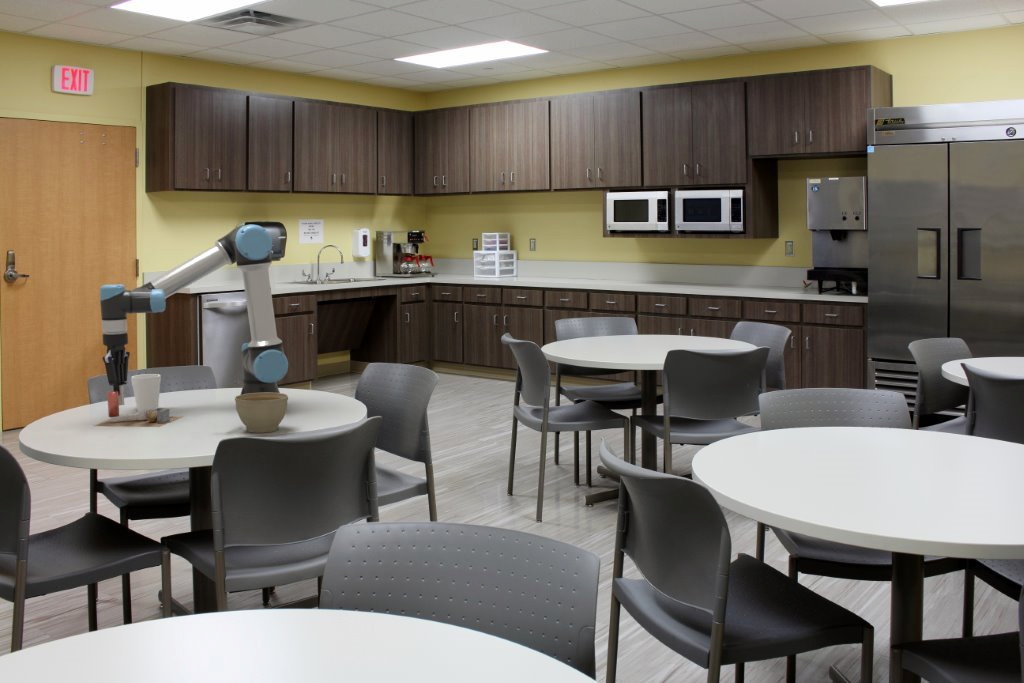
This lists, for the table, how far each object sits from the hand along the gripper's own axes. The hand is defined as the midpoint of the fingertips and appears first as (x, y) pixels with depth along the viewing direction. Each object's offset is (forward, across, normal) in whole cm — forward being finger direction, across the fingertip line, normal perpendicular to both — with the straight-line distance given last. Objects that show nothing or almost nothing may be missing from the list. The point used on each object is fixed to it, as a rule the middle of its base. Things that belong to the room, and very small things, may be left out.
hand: (119, 404), depth 307 cm
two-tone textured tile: (+5, +3, +16) cm, 17 cm away
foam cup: (+7, -20, -1) cm, 22 cm away
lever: (+5, 0, +6) cm, 8 cm away
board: (+7, +1, +7) cm, 10 cm away
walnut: (+3, +3, +12) cm, 13 cm away
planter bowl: (+7, +5, +50) cm, 51 cm away
